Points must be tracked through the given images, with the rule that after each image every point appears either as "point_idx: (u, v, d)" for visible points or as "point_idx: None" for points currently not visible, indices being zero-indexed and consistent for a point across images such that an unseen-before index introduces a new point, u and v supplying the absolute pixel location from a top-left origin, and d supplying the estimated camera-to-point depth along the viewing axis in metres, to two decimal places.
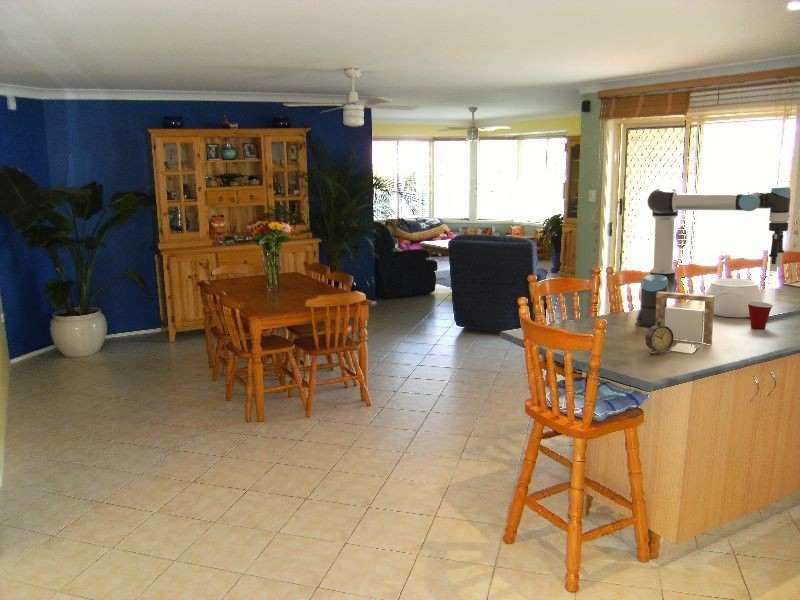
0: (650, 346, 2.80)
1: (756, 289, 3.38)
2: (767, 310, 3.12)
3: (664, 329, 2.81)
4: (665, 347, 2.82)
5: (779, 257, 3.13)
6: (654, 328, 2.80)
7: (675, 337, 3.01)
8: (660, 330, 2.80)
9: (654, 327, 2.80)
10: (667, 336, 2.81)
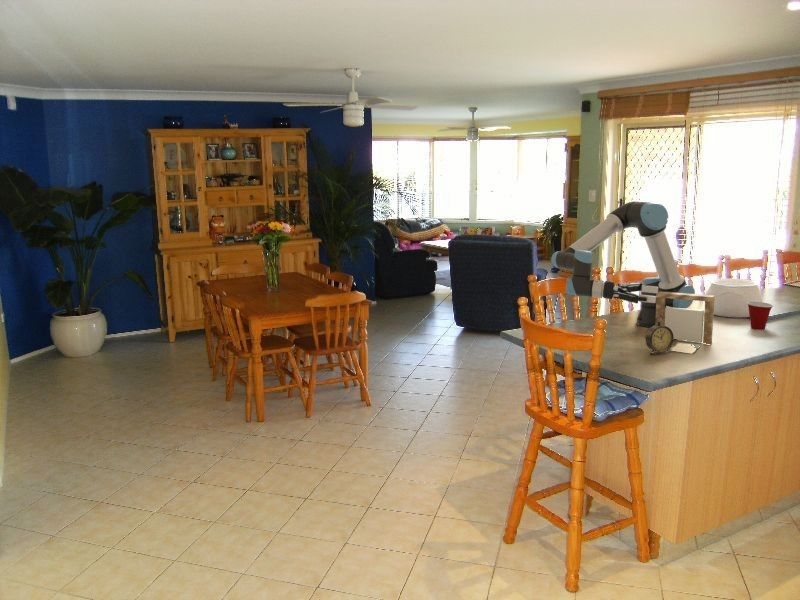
0: (650, 346, 2.80)
1: (756, 289, 3.38)
2: (767, 310, 3.12)
3: (664, 329, 2.81)
4: (665, 347, 2.82)
5: (646, 287, 2.90)
6: (654, 328, 2.80)
7: (675, 337, 3.01)
8: (660, 330, 2.80)
9: (654, 327, 2.80)
10: (667, 336, 2.81)
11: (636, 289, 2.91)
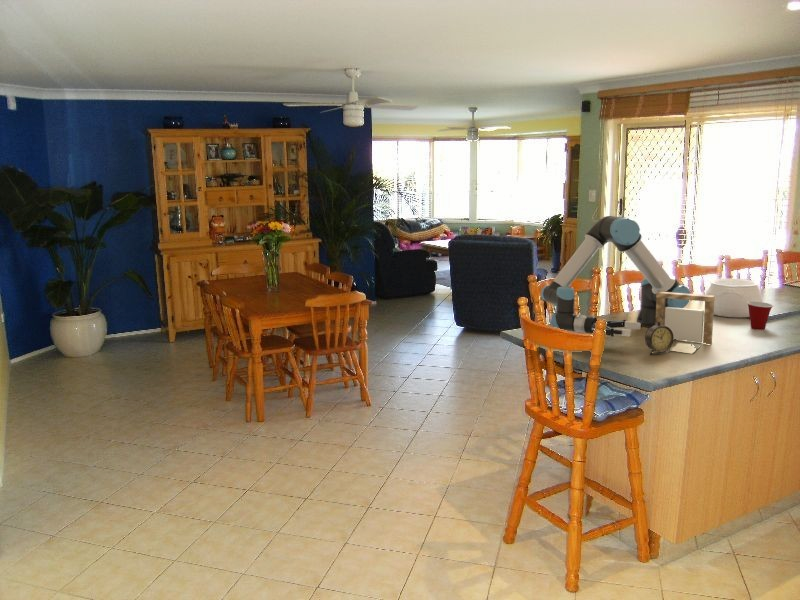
0: (650, 346, 2.80)
1: (756, 289, 3.38)
2: (767, 310, 3.12)
3: (664, 329, 2.81)
4: (665, 347, 2.82)
5: (629, 324, 2.95)
6: (654, 328, 2.80)
7: (675, 337, 3.01)
8: (660, 330, 2.80)
9: (654, 327, 2.80)
10: (667, 336, 2.81)
11: (619, 325, 2.97)
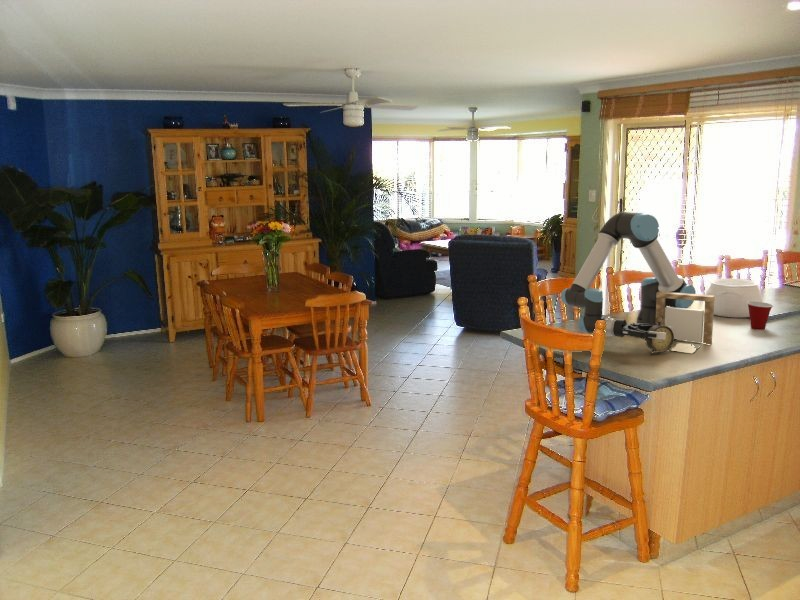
0: (650, 346, 2.81)
1: (756, 289, 3.38)
2: (767, 310, 3.12)
3: (664, 329, 2.81)
4: (665, 347, 2.82)
5: None
6: (654, 328, 2.80)
7: (675, 337, 3.01)
8: (660, 329, 2.80)
9: (654, 327, 2.81)
10: (668, 336, 2.82)
11: None
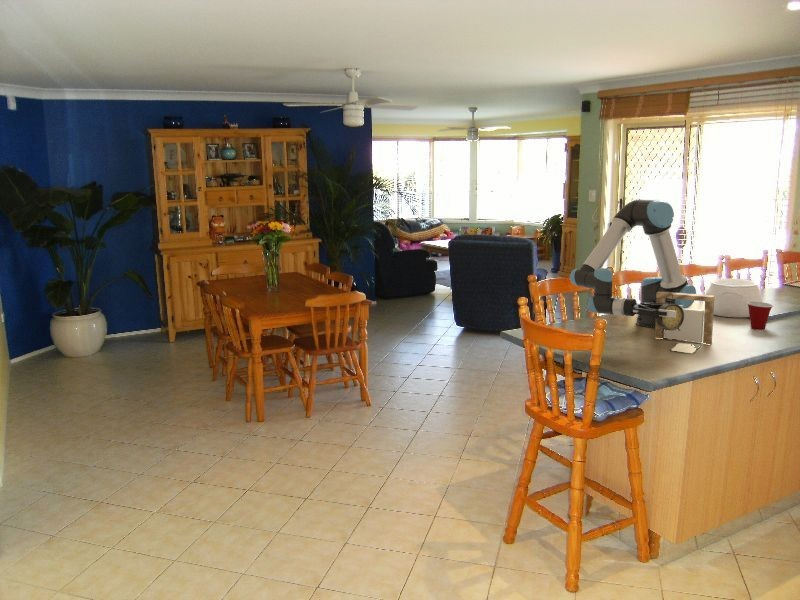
0: (661, 324, 2.81)
1: (756, 289, 3.38)
2: (767, 310, 3.12)
3: (675, 307, 2.81)
4: (676, 325, 2.82)
5: None
6: (665, 306, 2.80)
7: (675, 337, 3.01)
8: (670, 308, 2.80)
9: (665, 305, 2.81)
10: (678, 315, 2.82)
11: None
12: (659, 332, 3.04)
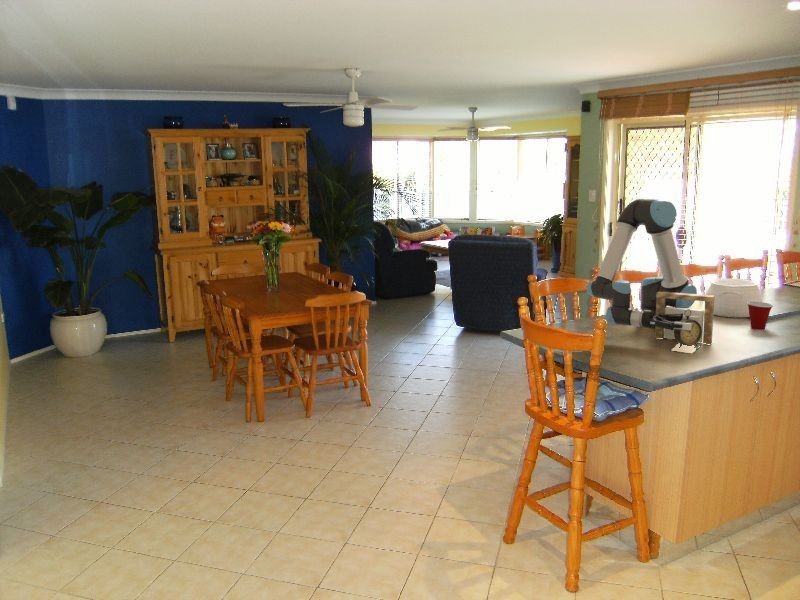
0: (679, 340, 2.85)
1: (756, 289, 3.38)
2: (767, 310, 3.12)
3: (693, 323, 2.85)
4: (693, 341, 2.87)
5: None
6: (683, 322, 2.85)
7: None
8: None
9: (683, 321, 2.85)
10: (696, 330, 2.86)
11: (677, 319, 2.94)
12: (659, 332, 3.04)
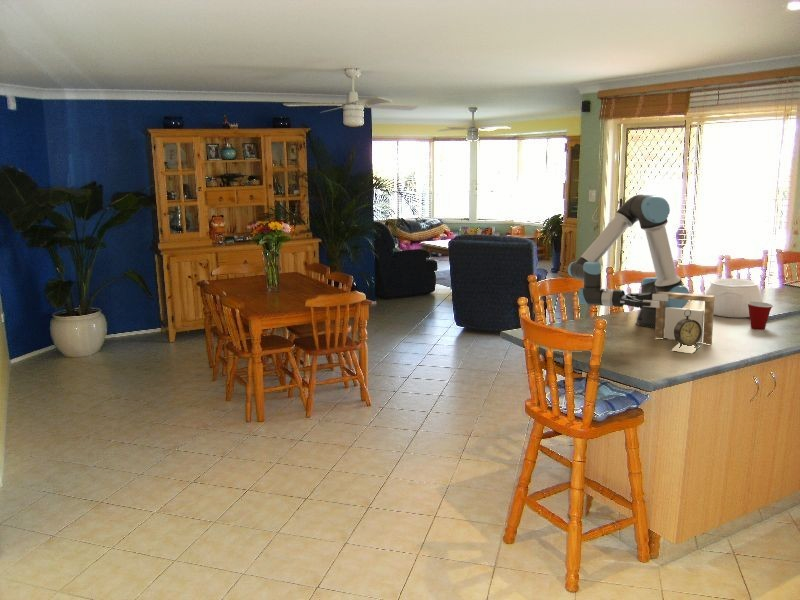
0: (679, 340, 2.85)
1: (756, 289, 3.38)
2: (767, 310, 3.12)
3: (692, 323, 2.85)
4: (693, 341, 2.87)
5: (657, 296, 2.98)
6: (683, 322, 2.85)
7: None
8: (688, 323, 2.85)
9: (683, 321, 2.85)
10: (696, 330, 2.86)
11: (647, 297, 3.00)
12: (659, 332, 3.04)
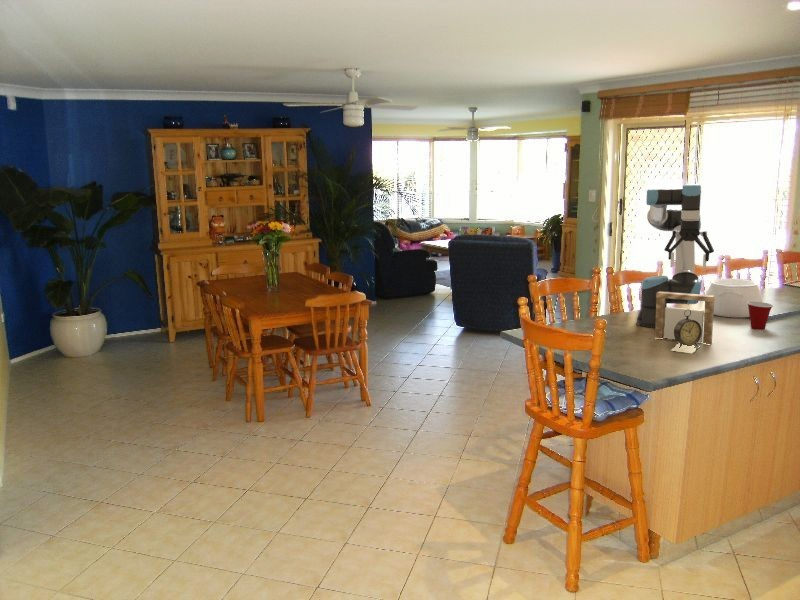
0: (679, 340, 2.85)
1: (756, 289, 3.38)
2: (767, 310, 3.12)
3: (692, 323, 2.85)
4: (693, 341, 2.87)
5: (673, 256, 3.08)
6: (683, 322, 2.85)
7: None
8: (688, 323, 2.85)
9: (683, 321, 2.85)
10: (696, 330, 2.86)
11: (674, 248, 3.06)
12: (659, 332, 3.04)
